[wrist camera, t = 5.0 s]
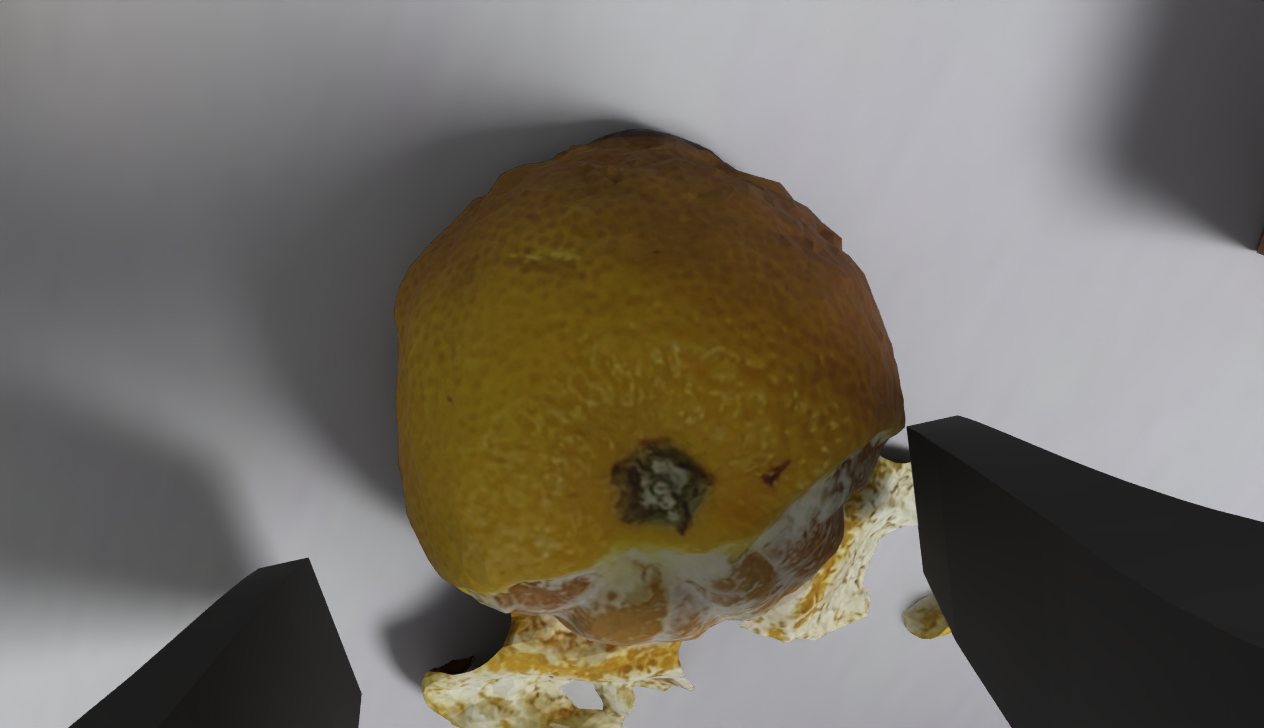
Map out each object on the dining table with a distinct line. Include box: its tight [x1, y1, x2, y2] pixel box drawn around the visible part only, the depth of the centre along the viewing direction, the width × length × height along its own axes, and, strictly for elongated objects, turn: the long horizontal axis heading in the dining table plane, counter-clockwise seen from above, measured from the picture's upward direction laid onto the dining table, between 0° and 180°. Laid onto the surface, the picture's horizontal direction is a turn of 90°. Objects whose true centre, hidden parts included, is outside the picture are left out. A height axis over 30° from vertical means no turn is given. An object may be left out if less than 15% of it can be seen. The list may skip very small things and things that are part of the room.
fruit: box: [394, 129, 951, 728], centre depth 11 cm, size 8×8×4 cm
